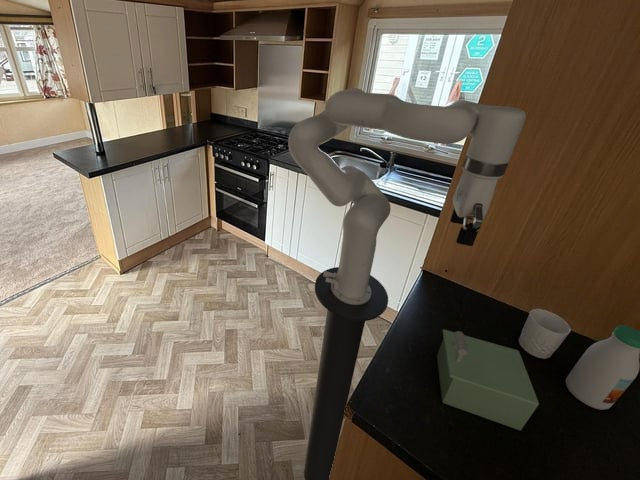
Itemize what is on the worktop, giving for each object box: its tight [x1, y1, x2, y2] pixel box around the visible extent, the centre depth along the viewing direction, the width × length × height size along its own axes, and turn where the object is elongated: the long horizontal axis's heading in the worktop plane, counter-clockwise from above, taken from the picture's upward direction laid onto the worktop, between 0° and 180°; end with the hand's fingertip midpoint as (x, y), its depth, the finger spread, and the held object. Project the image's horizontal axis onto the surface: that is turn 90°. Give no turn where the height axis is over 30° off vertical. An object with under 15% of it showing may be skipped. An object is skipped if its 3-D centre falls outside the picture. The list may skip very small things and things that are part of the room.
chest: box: [436, 338, 538, 432], centre depth 71 cm, size 15×13×9 cm
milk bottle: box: [565, 324, 640, 411], centre depth 68 cm, size 8×8×20 cm
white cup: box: [518, 308, 572, 360], centre depth 81 cm, size 8×8×10 cm
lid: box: [442, 328, 540, 407], centre depth 68 cm, size 15×13×5 cm
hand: (460, 232), depth 74 cm, fingers open, 9 cm apart
